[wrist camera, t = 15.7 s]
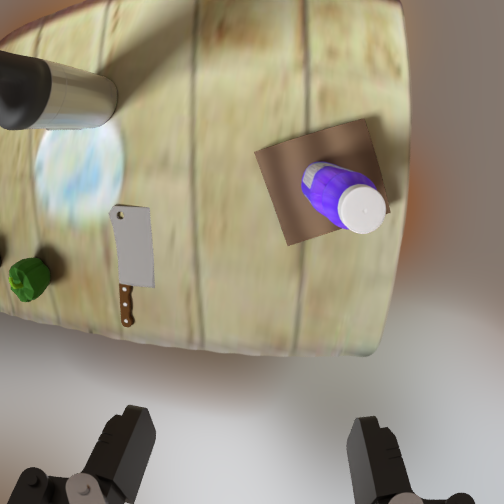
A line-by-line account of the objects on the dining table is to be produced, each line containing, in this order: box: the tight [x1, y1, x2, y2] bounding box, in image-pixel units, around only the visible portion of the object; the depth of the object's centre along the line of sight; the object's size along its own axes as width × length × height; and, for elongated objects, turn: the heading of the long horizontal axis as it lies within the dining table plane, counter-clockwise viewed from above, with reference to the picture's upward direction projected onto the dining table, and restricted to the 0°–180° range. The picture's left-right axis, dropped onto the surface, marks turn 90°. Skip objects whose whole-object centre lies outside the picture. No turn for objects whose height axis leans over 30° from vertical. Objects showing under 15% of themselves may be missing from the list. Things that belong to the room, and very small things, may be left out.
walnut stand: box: [254, 119, 390, 246], centre depth 42 cm, size 16×14×4 cm
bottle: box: [301, 162, 386, 234], centre depth 32 cm, size 7×6×17 cm
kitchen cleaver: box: [109, 205, 155, 327], centre depth 51 cm, size 24×1×10 cm
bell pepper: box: [9, 258, 50, 302], centre depth 48 cm, size 8×8×10 cm
